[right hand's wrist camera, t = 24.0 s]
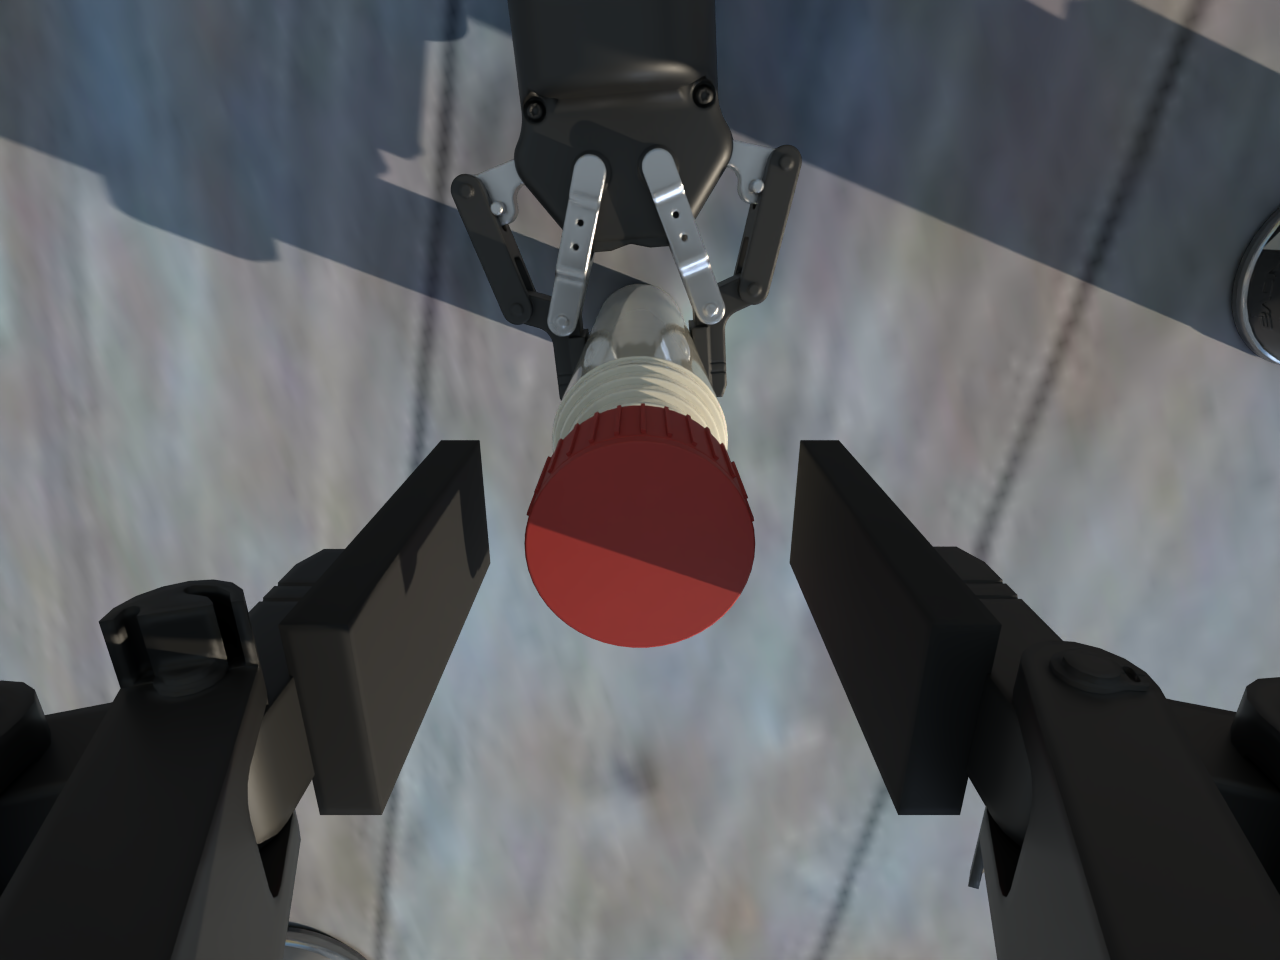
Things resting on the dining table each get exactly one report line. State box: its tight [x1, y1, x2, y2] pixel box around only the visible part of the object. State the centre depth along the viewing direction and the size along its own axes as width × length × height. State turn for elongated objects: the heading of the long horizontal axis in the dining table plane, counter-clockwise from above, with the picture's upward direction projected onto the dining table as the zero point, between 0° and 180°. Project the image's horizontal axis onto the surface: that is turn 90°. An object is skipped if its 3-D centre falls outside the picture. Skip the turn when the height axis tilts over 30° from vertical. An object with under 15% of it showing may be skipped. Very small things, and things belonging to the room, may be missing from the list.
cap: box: [525, 403, 755, 648], centre depth 13 cm, size 4×4×2 cm
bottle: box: [552, 284, 728, 453], centre depth 24 cm, size 4×4×24 cm
